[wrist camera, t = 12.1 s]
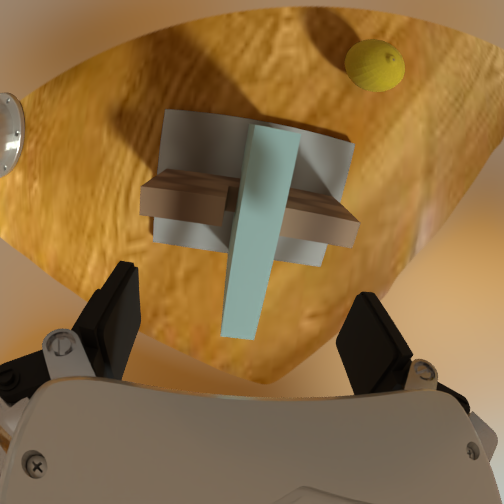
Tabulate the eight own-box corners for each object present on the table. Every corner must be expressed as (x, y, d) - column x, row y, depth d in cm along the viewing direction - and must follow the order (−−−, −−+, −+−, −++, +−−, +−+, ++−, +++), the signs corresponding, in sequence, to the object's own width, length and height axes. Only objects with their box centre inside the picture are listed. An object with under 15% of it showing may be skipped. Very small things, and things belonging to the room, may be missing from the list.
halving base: (155, 238, 32) (129, 278, 24) (167, 109, 25) (137, 106, 17) (318, 262, 34) (339, 307, 26) (351, 143, 27) (390, 154, 19)
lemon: (350, 101, 25) (384, 97, 18) (325, 57, 23) (352, 39, 16) (388, 84, 24) (428, 79, 17) (365, 43, 22) (400, 25, 15)
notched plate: (249, 123, 26) (255, 124, 13) (273, 127, 26) (301, 133, 13) (228, 249, 32) (220, 336, 19) (249, 252, 32) (253, 339, 19)
